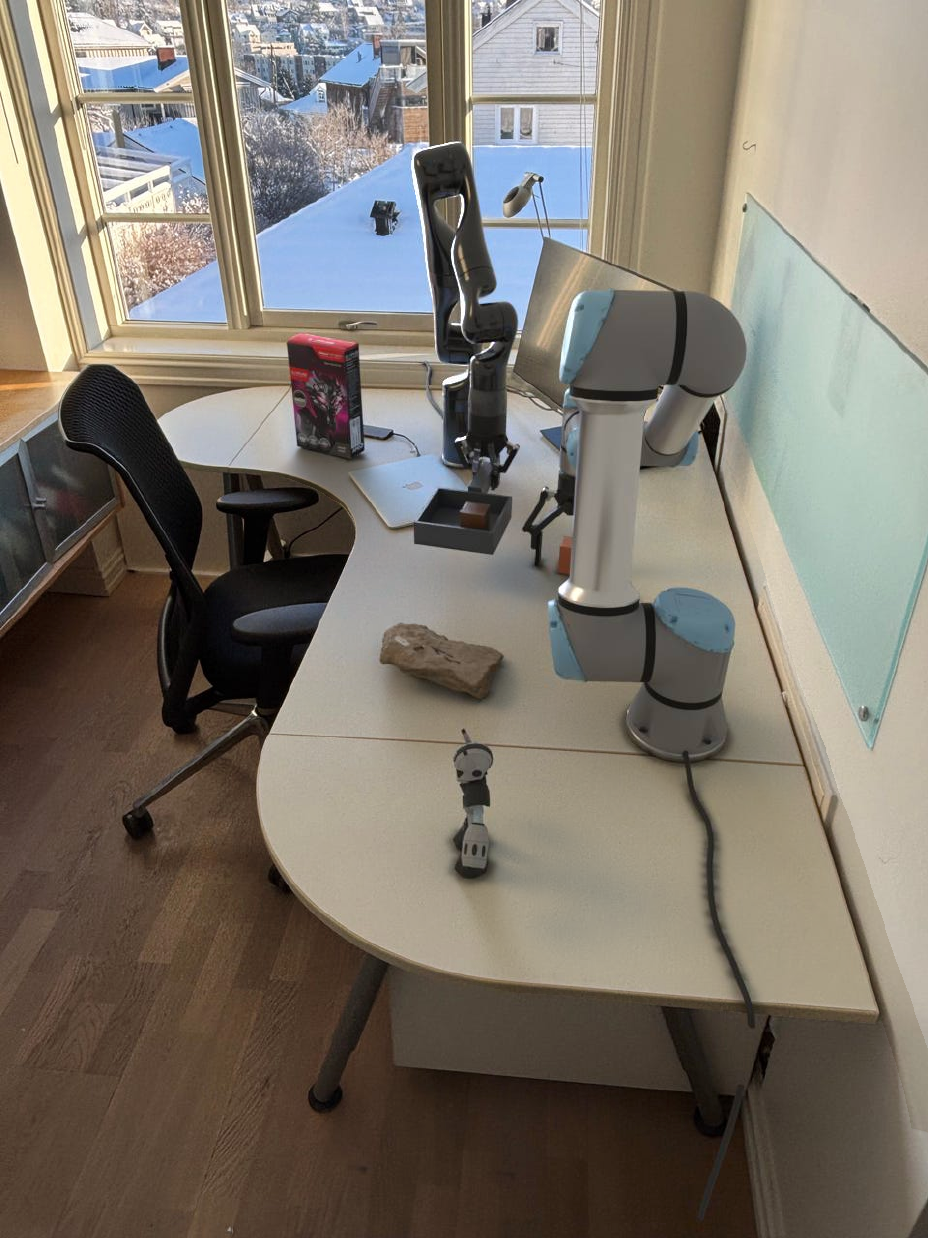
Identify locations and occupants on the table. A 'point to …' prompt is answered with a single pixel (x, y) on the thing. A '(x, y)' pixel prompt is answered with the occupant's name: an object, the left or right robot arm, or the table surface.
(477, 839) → the robot
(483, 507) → the walnut block
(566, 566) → the terracotta block
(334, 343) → the graphics card box
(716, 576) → the table surface
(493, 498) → the tote
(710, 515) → the table surface
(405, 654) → the stone
